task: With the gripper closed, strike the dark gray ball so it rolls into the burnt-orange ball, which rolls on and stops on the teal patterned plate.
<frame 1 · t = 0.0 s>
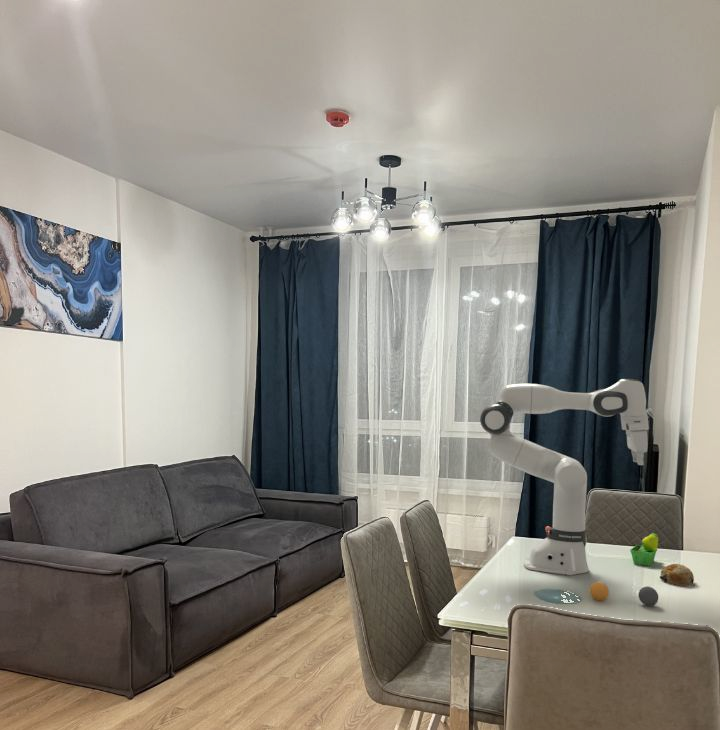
hand: (638, 463, 234), 39 cm above the table, tool pointing down, fingers open, 8 cm apart
teal patterned plate: (558, 596, 206), on the table
fruit basket: (645, 563, 250), on the table
object ball: (599, 591, 203), on the table
dark gray ball: (648, 596, 200), on the table
bread roll: (676, 583, 225), on the table
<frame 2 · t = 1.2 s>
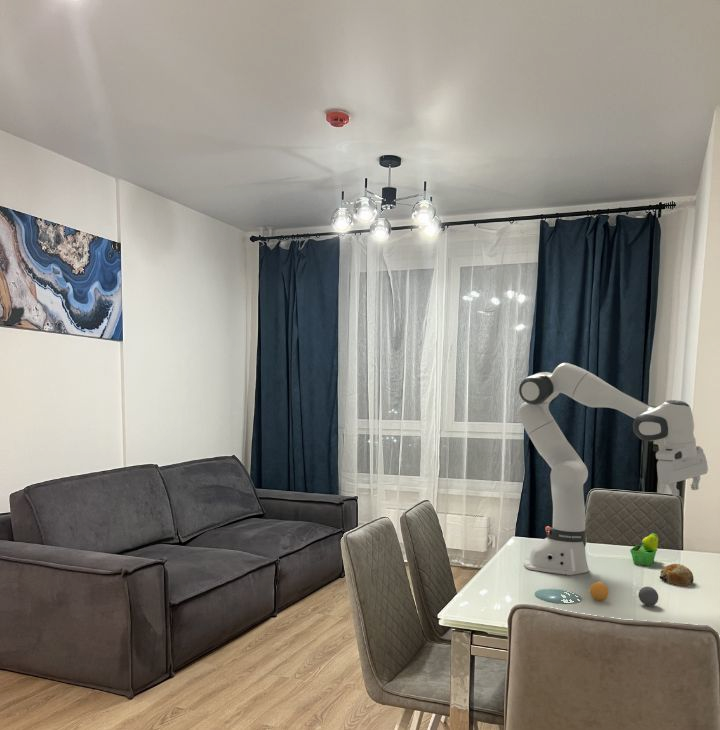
hand: (685, 492, 216), 32 cm above the table, tool pointing down, fingers open, 8 cm apart
nothing on the table moved.
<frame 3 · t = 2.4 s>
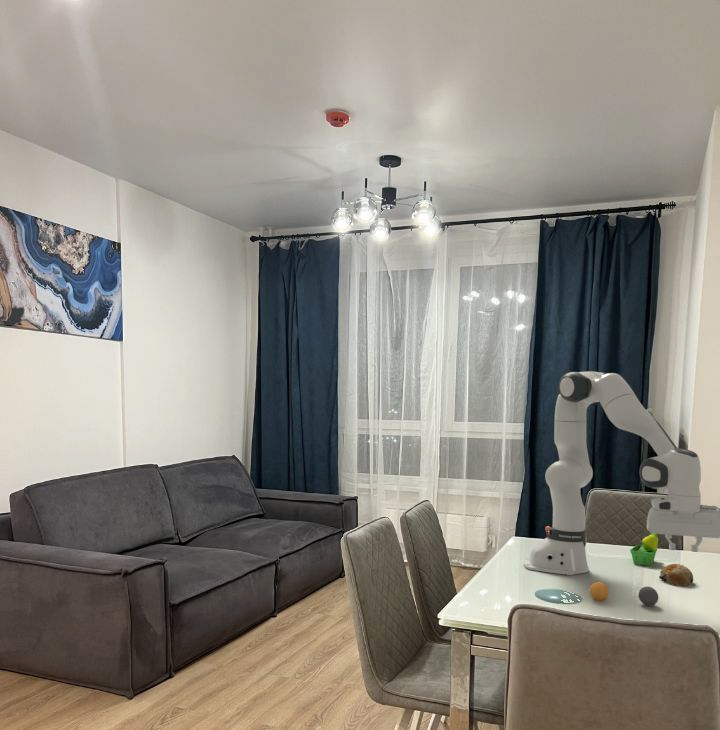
hand: (683, 550, 198), 17 cm above the table, tool pointing down, fingers open, 5 cm apart
nothing on the table moved.
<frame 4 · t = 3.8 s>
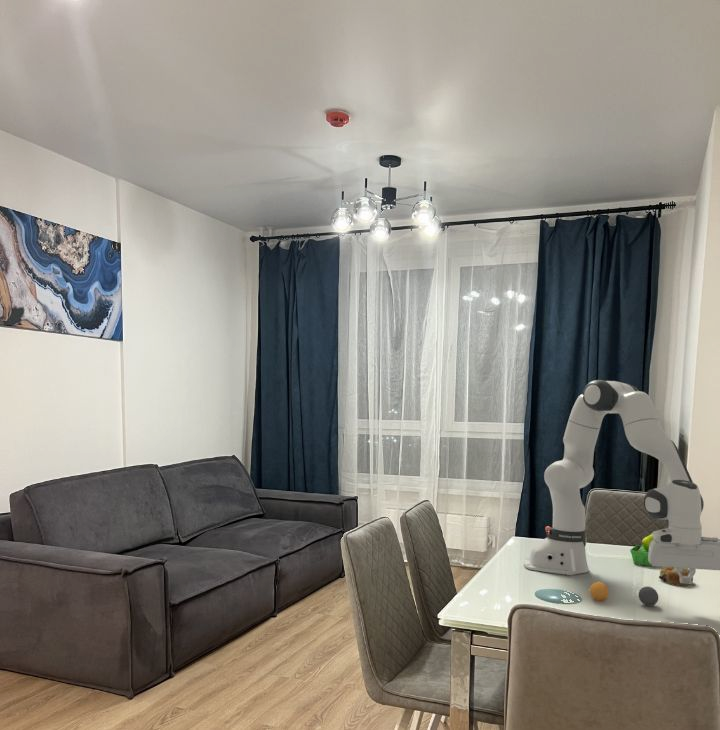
hand: (685, 583, 197), 8 cm above the table, tool pointing down, fingers closed
nothing on the table moved.
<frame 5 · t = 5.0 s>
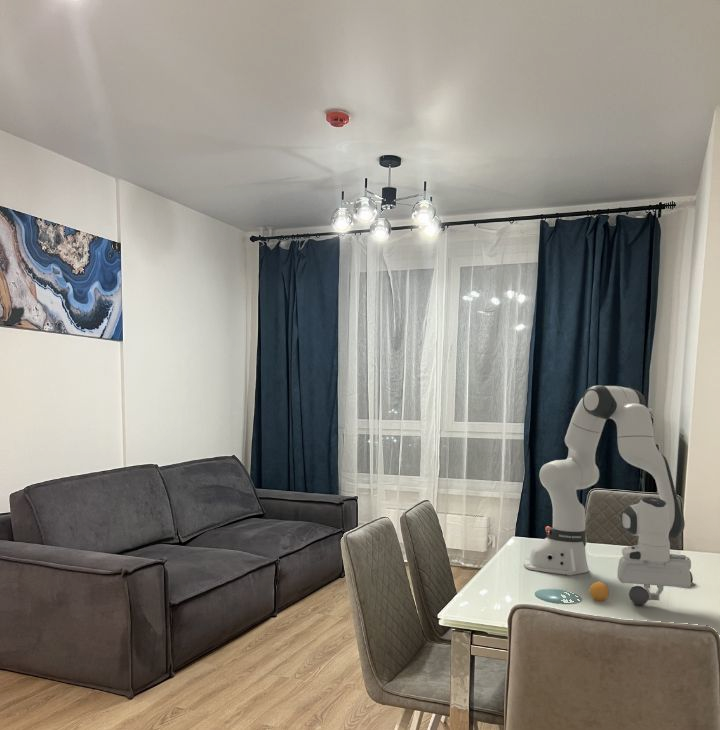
hand: (653, 599, 200), 2 cm above the table, tool pointing down, fingers closed
dark gray ball: (638, 595, 200), on the table
everything else where it was.
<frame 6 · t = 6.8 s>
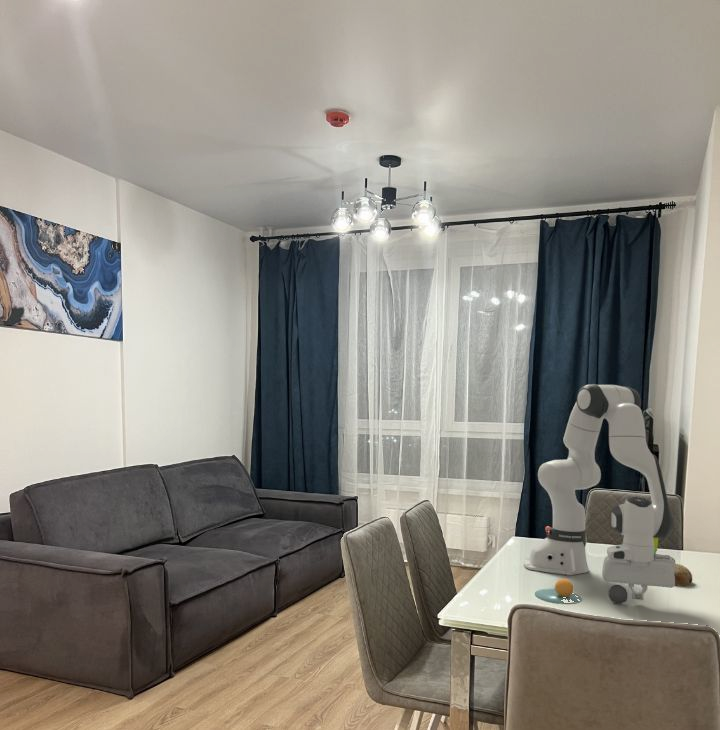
hand: (637, 598, 201), 2 cm above the table, tool pointing down, fingers closed
object ball: (564, 587, 206), on the table
dark gray ball: (617, 594, 201), on the table
everything else where it was.
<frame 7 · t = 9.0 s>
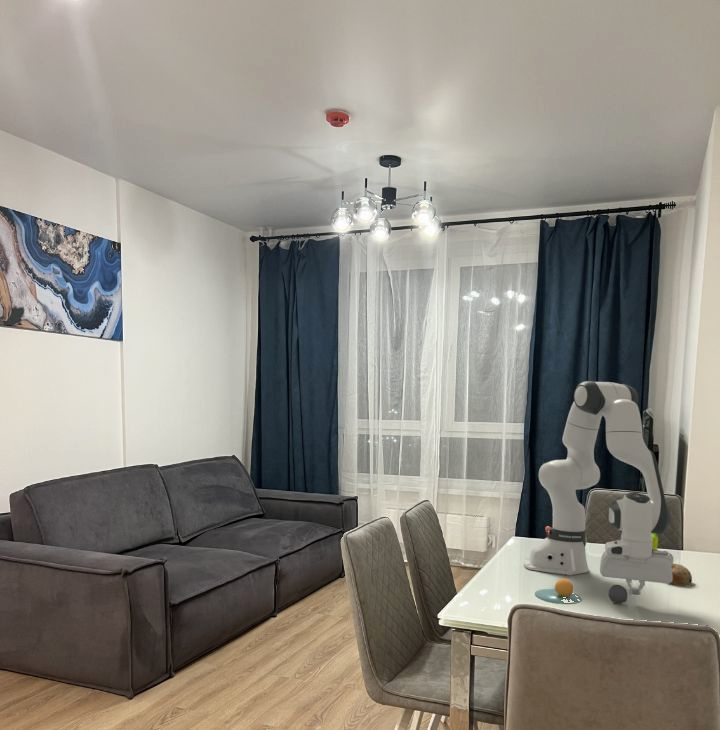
hand: (634, 594, 201), 3 cm above the table, tool pointing down, fingers closed
nothing on the table moved.
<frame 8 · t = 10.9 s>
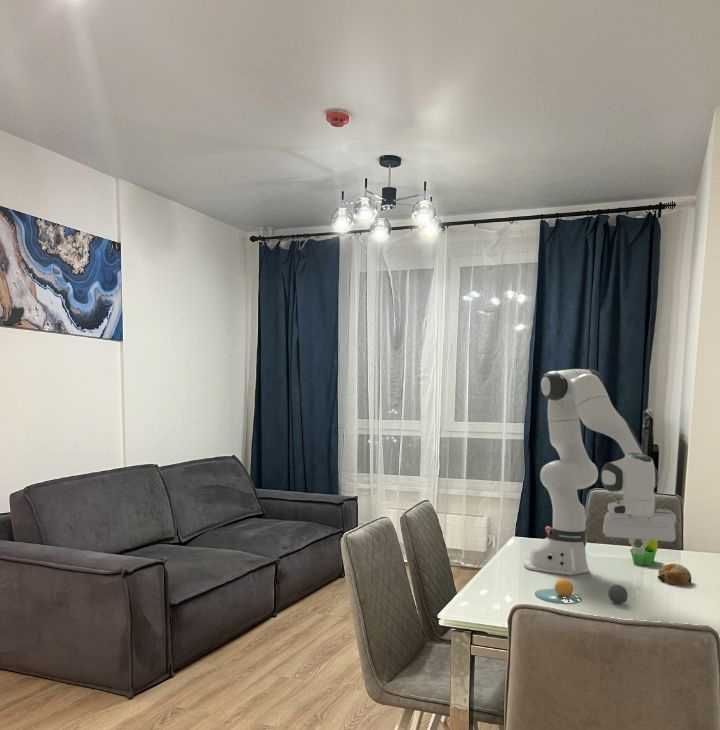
hand: (638, 553, 201), 15 cm above the table, tool pointing down, fingers closed
nothing on the table moved.
at the end: object ball 1.8 cm from the teal patterned plate (horizontally); object ball never touched the robot; dark gray ball first touched object ball at 5.2 s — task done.
